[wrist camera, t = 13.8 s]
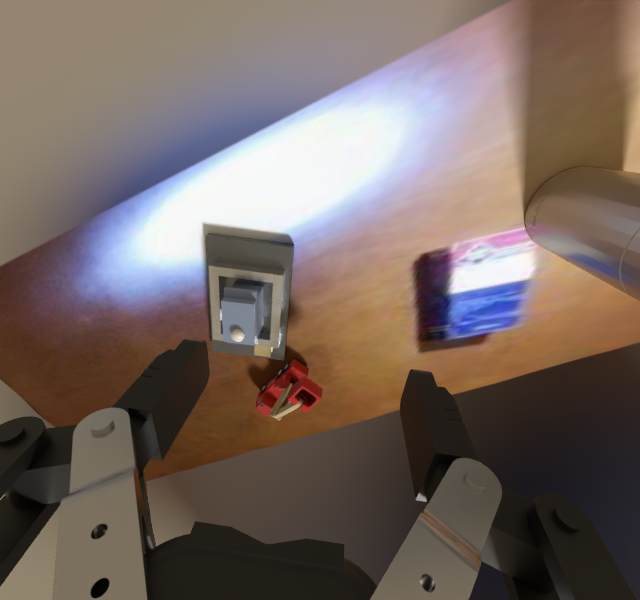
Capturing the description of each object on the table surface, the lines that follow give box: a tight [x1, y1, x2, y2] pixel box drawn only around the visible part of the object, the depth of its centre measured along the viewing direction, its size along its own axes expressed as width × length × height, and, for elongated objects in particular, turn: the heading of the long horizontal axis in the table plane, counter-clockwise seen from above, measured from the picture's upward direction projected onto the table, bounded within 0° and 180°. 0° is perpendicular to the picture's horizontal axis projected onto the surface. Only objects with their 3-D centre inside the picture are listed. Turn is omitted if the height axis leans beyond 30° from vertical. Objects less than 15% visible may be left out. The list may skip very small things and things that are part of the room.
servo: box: [221, 283, 263, 346], centre depth 40 cm, size 4×8×6 cm, turn 175°
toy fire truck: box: [256, 359, 323, 420], centre depth 46 cm, size 3×14×10 cm, turn 140°
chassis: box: [206, 233, 294, 360], centre depth 43 cm, size 11×18×3 cm, turn 173°
